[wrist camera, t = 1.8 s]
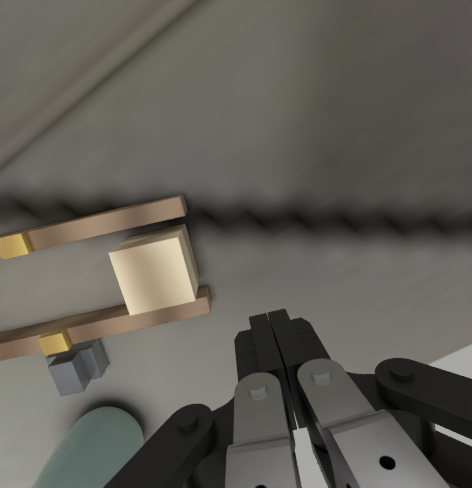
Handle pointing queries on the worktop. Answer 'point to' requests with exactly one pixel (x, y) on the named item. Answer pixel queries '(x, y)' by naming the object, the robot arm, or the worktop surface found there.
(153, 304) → the block
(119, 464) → the cup
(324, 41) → the worktop surface
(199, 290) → the beam rails
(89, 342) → the block
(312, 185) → the worktop surface
